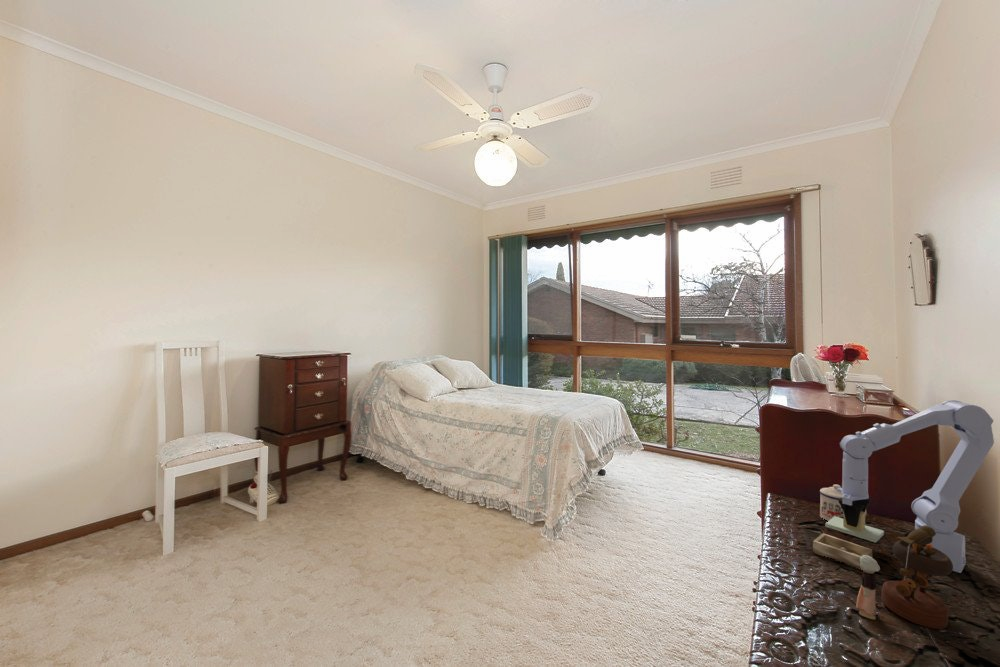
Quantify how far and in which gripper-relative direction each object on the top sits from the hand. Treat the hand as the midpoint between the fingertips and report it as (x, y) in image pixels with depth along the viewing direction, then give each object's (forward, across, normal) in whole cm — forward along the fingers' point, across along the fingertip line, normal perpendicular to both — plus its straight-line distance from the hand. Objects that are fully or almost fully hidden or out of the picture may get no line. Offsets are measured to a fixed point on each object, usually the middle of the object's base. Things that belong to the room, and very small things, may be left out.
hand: (854, 523), depth 121 cm
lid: (+2, 0, 0) cm, 2 cm away
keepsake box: (+6, +11, 0) cm, 13 cm away
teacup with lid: (+6, -16, -7) cm, 19 cm away
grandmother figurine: (+6, +36, +11) cm, 38 cm away
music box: (+6, +26, +17) cm, 32 cm away
